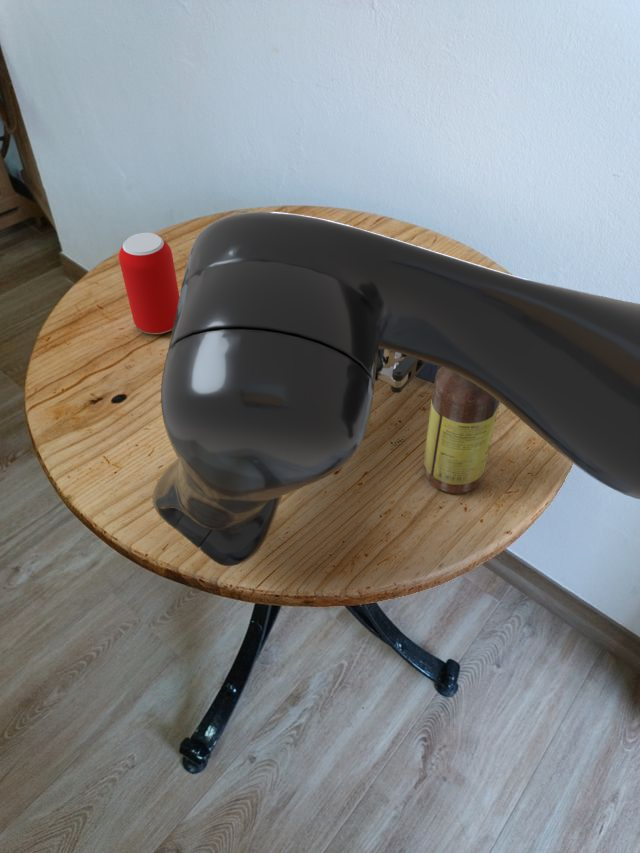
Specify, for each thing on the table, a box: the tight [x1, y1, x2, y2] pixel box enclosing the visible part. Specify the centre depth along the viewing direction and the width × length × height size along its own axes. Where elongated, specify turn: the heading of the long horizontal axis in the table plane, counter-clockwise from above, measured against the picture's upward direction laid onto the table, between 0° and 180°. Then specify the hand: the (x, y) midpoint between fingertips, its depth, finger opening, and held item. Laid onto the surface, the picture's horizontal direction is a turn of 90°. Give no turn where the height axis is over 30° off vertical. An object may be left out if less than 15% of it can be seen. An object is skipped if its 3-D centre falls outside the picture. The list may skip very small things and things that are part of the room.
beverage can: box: [118, 232, 180, 335], centre depth 85 cm, size 6×6×12 cm
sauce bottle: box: [423, 367, 500, 495], centre depth 65 cm, size 7×6×20 cm
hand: (387, 311), depth 79 cm, fingers open, 8 cm apart
